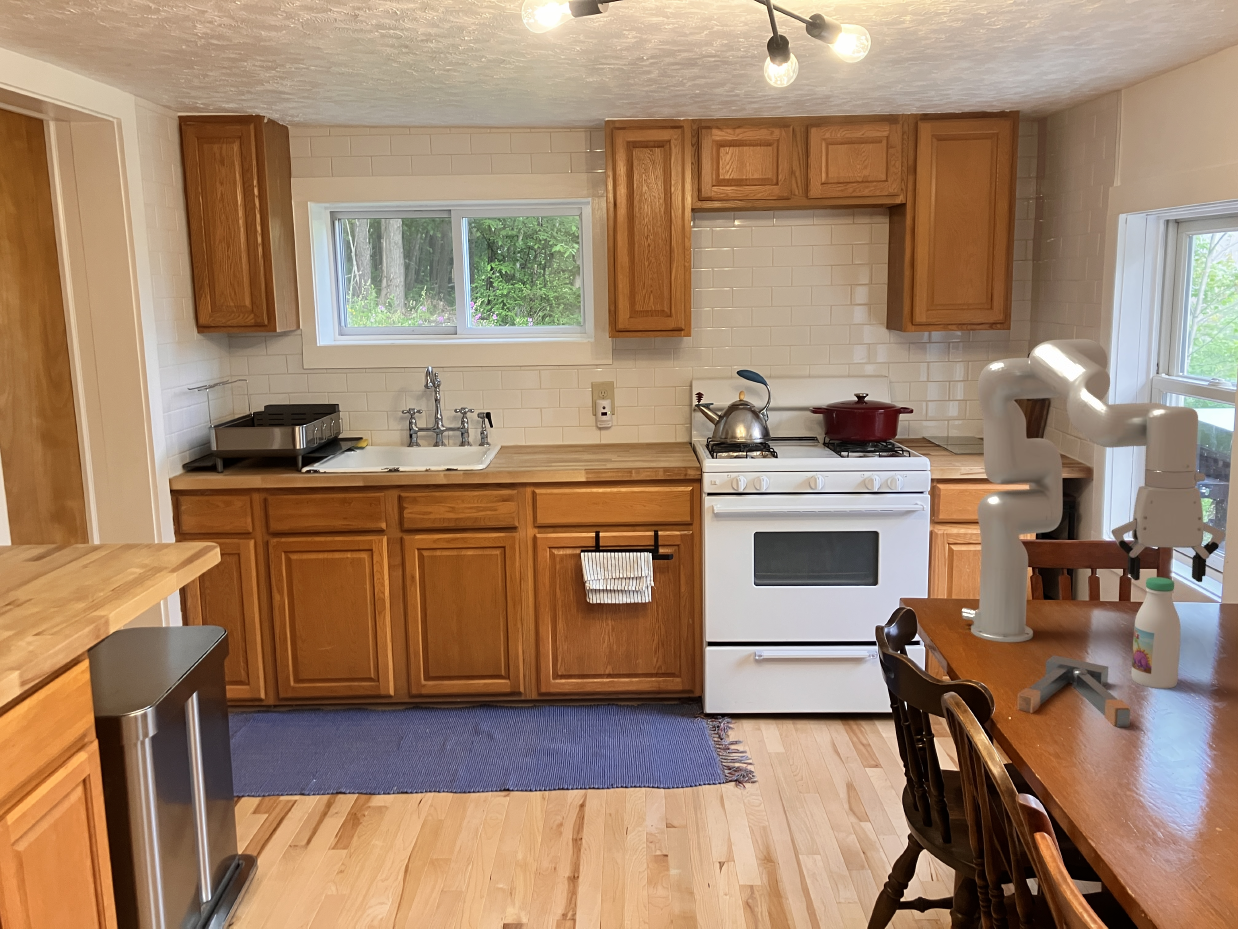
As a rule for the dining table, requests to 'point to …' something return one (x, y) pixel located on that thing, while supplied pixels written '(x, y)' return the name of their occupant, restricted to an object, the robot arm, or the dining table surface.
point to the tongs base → (1057, 681)
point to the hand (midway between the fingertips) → (1165, 579)
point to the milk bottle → (1156, 637)
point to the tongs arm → (1102, 699)
